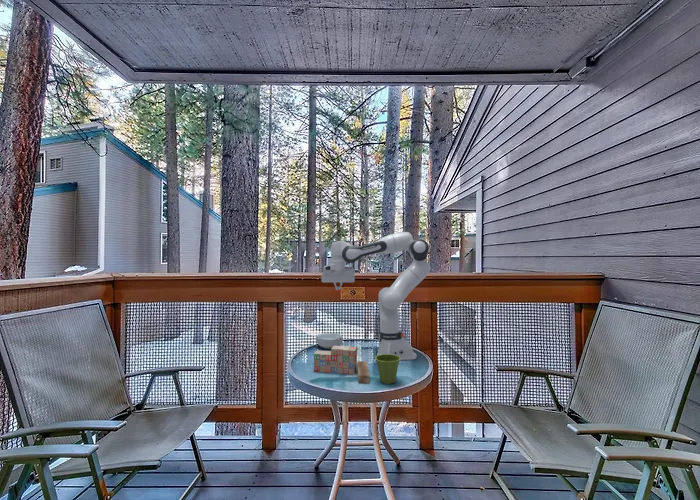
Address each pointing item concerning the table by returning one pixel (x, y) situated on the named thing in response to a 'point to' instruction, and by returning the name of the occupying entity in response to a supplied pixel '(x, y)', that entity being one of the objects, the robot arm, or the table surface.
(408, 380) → the table surface
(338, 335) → the cereal bowl
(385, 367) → the plant pot
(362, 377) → the board
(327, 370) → the stack of blocks
